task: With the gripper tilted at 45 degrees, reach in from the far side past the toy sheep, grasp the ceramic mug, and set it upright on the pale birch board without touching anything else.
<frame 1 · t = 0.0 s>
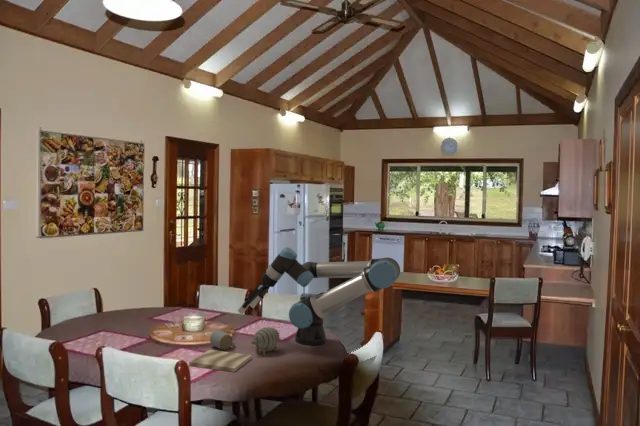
hand: (245, 309, 257), 15 cm above the table, tool tilted 35°, fingers open, 13 cm apart
birch board: (221, 362, 226), on the table
toy sheep: (265, 352, 242), on the table
ceramic mug: (223, 347, 247), on the table
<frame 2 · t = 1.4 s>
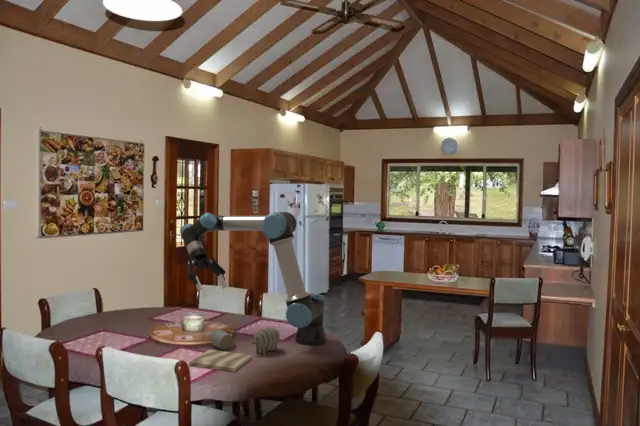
hand: (212, 288, 253), 25 cm above the table, tool tilted 45°, fingers open, 13 cm apart
nothing on the table moved.
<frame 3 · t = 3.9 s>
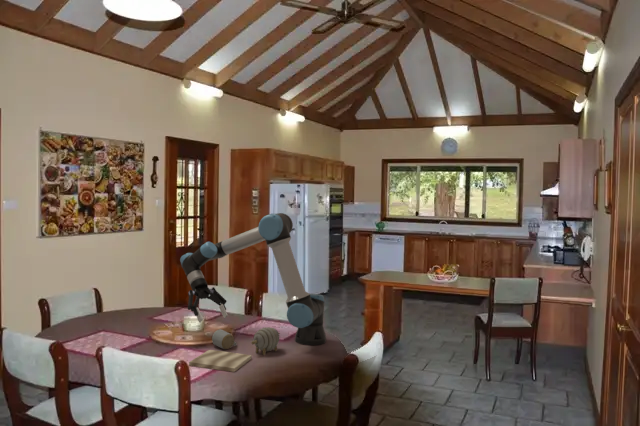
hand: (213, 318, 251), 12 cm above the table, tool tilted 45°, fingers open, 13 cm apart
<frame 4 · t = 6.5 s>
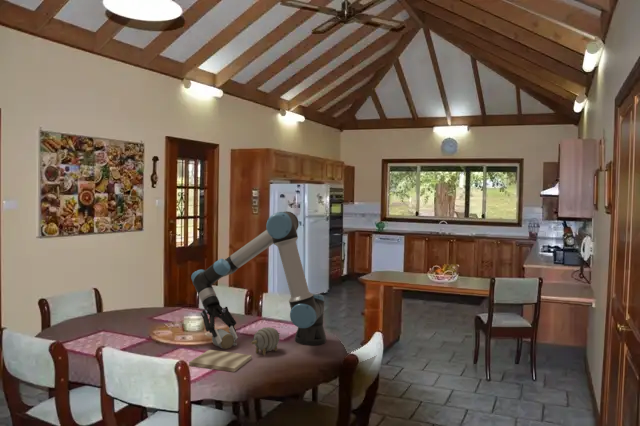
hand: (228, 341, 244), 4 cm above the table, tool tilted 45°, fingers closed on ceramic mug, 8 cm apart
ceramic mug: (225, 347, 247), on the table, touching gripper
everything else where it was.
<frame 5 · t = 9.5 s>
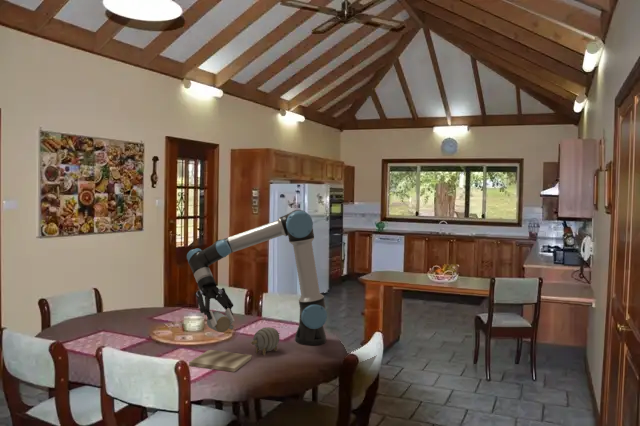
hand: (223, 324, 228), 15 cm above the table, tool tilted 45°, fingers closed on ceramic mug, 8 cm apart
ceramic mug: (220, 330, 232), point 12 cm above the table, touching gripper
everything else where it was.
when the fingers open (6 cm above the table, at t = 12.6 s): ceramic mug stays where it is, resting on birch board.
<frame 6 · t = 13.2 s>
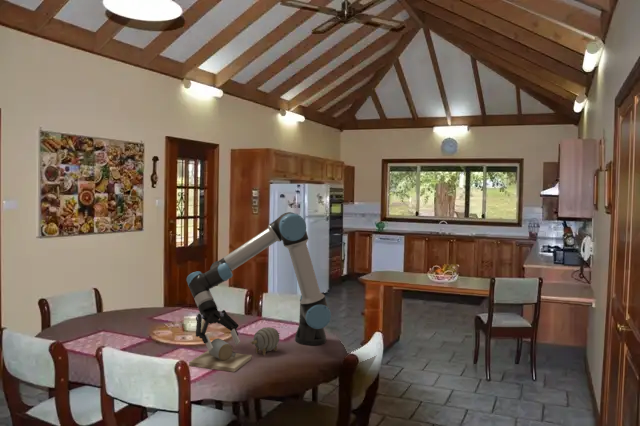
hand: (224, 346, 224), 7 cm above the table, tool tilted 45°, fingers open, 13 cm apart
ceramic mug: (223, 358, 227), point 1 cm above the table, touching birch board
everything else where it was.
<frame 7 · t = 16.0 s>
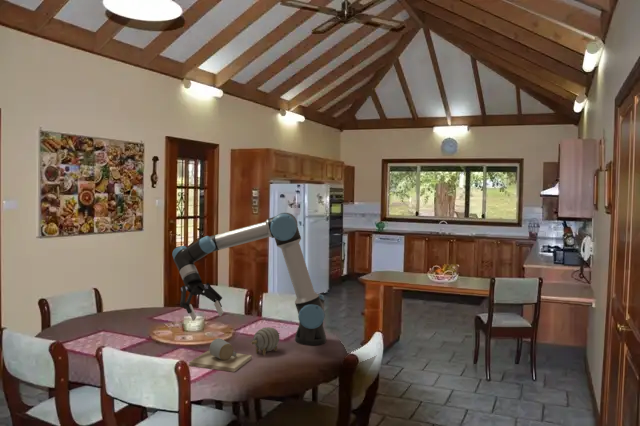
hand: (208, 316, 233), 17 cm above the table, tool tilted 45°, fingers open, 13 cm apart
nothing on the table moved.
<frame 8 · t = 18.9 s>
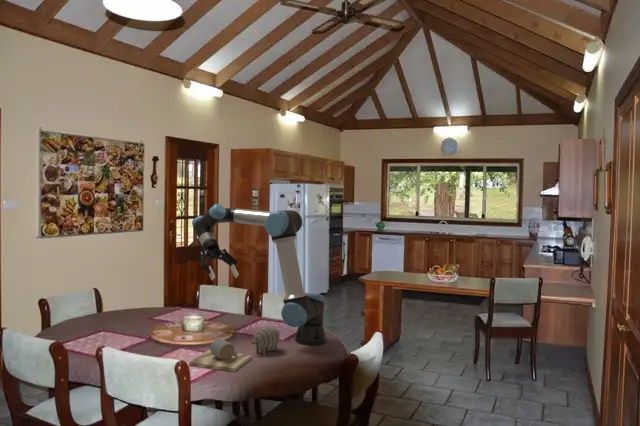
hand: (225, 277, 259), 30 cm above the table, tool tilted 45°, fingers open, 13 cm apart
nothing on the table moved.
at the end: ceramic mug inside the target area on the birch board (1.9 cm from its centre), point 1.3 cm above the birch board's base; ceramic mug tilted 2°; toy sheep moved 0.3 cm from its start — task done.
